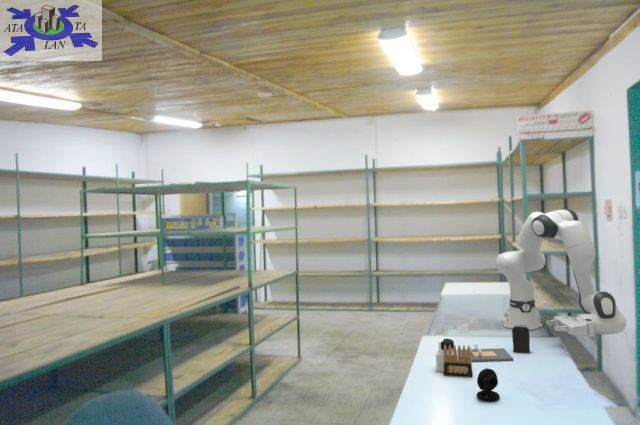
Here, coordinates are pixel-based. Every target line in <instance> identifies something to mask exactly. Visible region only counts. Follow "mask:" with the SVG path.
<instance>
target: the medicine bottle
mask: <svg viewBox="0 0 640 425" xmlns="http://www.w3.org/2000/svg"><path fill="white" fill-rule="evenodd" d="M437 342H438V350H437V352H436V354H435V363H436V372H440V373H444V345H446V347H447V354H449V345H451V349H452V356H453V347H454V345H455V343H454V342H455V341H454V340H453V339H451V338H441V339H439V340H438V341H437ZM457 350H458V349H456V352H457V353H458V351H457ZM448 368H449V366H448ZM453 371H454V369H453Z"/></svg>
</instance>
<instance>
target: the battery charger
mask: <svg viewBox="0 0 640 425" xmlns="http://www.w3.org/2000/svg"><path fill="white" fill-rule="evenodd" d="M511 335H512V336H511V338H512V351H513V352H514V353H525V354H526V353H527V354H530V353H531V349H530V348H531V347H530V346H531V344H530V343H531V342H530V340H531V339H530V338H531V337H530V336H531V335H530V330H529V328H528V327H527V326H525V325H515V326H513V328H511Z"/></svg>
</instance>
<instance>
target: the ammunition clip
mask: <svg viewBox="0 0 640 425" xmlns="http://www.w3.org/2000/svg"><path fill="white" fill-rule="evenodd" d="M470 347H471V346H470V345H469V344H468V345H467V356H466V346H465V345H463V346H462V347H461V345H460V344H458V347H456V344H454V347H453V356H452V349H451V345H449V354H447V347H446V345H444V372H443V376H448V377H449V376H450V377H461V378H462V377H463V378H473V376H474V375H473V374H474V373H473V365H472V363H473V362H472V360H471V352H470ZM461 348H462V349H461ZM456 350H458V351H457V352H456ZM461 350H463V355H461ZM448 366H449V368H448ZM453 369H454V371H453Z"/></svg>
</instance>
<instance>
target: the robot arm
mask: <svg viewBox="0 0 640 425" xmlns="http://www.w3.org/2000/svg"><path fill="white" fill-rule="evenodd" d="M556 237H559V239H561V240H562V243H563V247H564V249H565V252H566V254H567V257H568V259H569V262H570V265H571V269H572V273H573V277H574V280H575V283H576V286H577V290H578V305H579V307H580V309H581V311H583V313H580V314H577V315H576V317H575V316H574V317H572V316H570V315H569V316H568V315H555V316H553V319H551V320H546V322H545V324H546V325H547V326H553V328H554V331H556V332H566V333H567V334H569V335H571V336H576V337H577V336H578V337H579V336H580V337H581V336H582V337H588V338H594V337H595V335H614V334H620V333H622V332H623V331H624V330H625V328H626V325H627V320H626V316H625V315H624V313H622V312H621V311H620V309H619V308H618V305H617V302H616V299H615V298H614V296H613V295H612V294H611V293H609V292H608V291H596V289H595V287H594V284H593V280H592V277H591V273H590V267H591V266H592V263H594V260H595V259H596V249H595V245H594V243H593V241H592V238H591V236H590V234H589V232H588V230H587V229H586V226H585V225H584V224H583V222H582V221H580V220H579V217H578V214H577V213H576V212H575V210H573V209H570V208H561V209H557V210H551V211H549V212H545V213H544V212H541V211H534V212H532V213H530V214H529V215H528V217H527V218H526V220H525V221H524V223H523V225H522V227H521V228H520V232H519V234H518V237H517V238H516V239H517V240H516V241H517V242H516V243H517V245H518V246H519V248H520V250H512V251H511V250H510V251H505V252H502V253H499V254H498V255H497V257H496V258H495V266H496V269H497V270H498V271H499V272H501V273H502V275H504V276H505V277H506V278H505V279H506V280H507V281H508V284H509V285H508V286H509V291H510V292H509V293H510V295H509V296H510V298H509V307H508V308H507V310H506V312H503V319H502V323H503V327H504V328H508V329H512V328H513V326H515V325H525V326H527V327H528V328H529V331H531V330H532V331H533V330H537V329H539V328H541V327H543V323H541V322H540V314H539V310H538V308H536V300H535V297H534V296H535V295H534V294H535V293H534V292H535V291H534V285H533V282H531V281H530V280H528V279H526V278H525V277H524V273H528V272H530V273H531V272H535V271H539V270H542V269H543V268H544V267H545V265H546V257H545V254H544V253H543V252H542V251H541V247H542V243H543V241H544V240H545V238H546V239H547V238H549V239H550V238H551V239H554V238H556ZM504 317H505V318H504Z"/></svg>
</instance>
